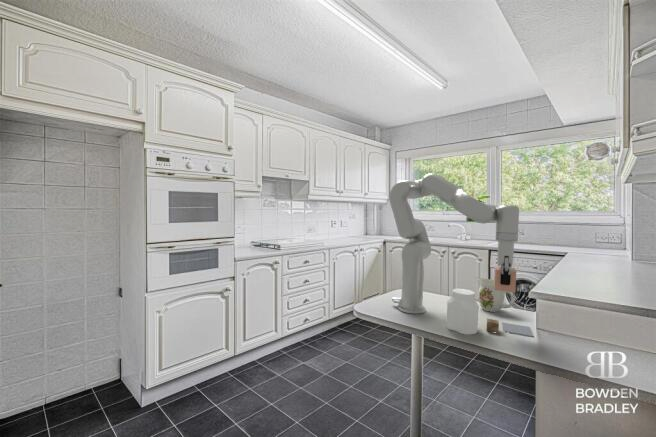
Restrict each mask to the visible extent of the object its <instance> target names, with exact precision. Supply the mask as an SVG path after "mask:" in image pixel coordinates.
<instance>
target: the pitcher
mask: <svg viewBox="0 0 656 437" xmlns="http://www.w3.org/2000/svg"><path fill="white" fill-rule="evenodd" d="M474 280H476V281H477V283H478V284H479V288H478V293H477V297H478V303H479V307H480V308H481V309H482V310H483V309H484V310H483V311H485V310H486V311H485V312H488V311H490V313H498V312H499V311H500V310H501V309H509V308H511V307H512V306H513V305H514V304H515V295H514V292H506V291H498V290H494V279H489V278H482V277H474ZM505 294H509V295H510V302H509V304H506V305H504V301H505Z"/></svg>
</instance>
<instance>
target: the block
mask: <svg viewBox="0 0 656 437" xmlns="http://www.w3.org/2000/svg"><path fill="white" fill-rule="evenodd" d="M499 326H500V322H499V320H498V319H492V318H491V319H490V318H486V327H487V329H486V332H487V331H489V332H488V333H491V332H496V333H495V334H497V333H498V334H499Z"/></svg>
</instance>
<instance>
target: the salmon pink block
mask: <svg viewBox="0 0 656 437" xmlns="http://www.w3.org/2000/svg"><path fill="white" fill-rule="evenodd" d="M503 269H504V268H503ZM503 271H504V270H503ZM501 274H502V267H501V266H500V267H499V266H496V265H495V266H494V274H493V275H494V277H493V280H494V290H498V291H506V292H512V293H513V294H514V293H516V290H517V289H516V286H517V285H516V284H517V270H516V267H511V268H510V275H511V277H510V285H502V284H501V283H500V282H501Z"/></svg>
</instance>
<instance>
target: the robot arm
mask: <svg viewBox="0 0 656 437" xmlns="http://www.w3.org/2000/svg"><path fill="white" fill-rule="evenodd" d="M428 196H433V197H435V198H436V199H438V200H441V201H442V202H443V203H446V204H447V205H448V206H450V207H451V208H453V209H454V210H456V211H457V212H459V213H460V214H462V215H464V216H466V217H467V218H469V219H471V220H472V221H474V222H476V223H478V224H482V225H483V224H490V223H496V224H495V225H496V226H495V241H498V243H497V257H496V259H497V261H496V265H497V267H502V274H501V282H500V283H501V284H502V285H510V277H511V275H510V268H513V262H514V253H515V243H517V242H518V241H519V223H520V221H519V220H520V208H519V206H517V205H513V204H508V205H507V204H502V205H494V204H489V203H488V204H486V203H484V202H481V201H480V200H478V199H476V198H474V197H472V196H471V195H470V194H468V193H467V192H466V191H465V190H464V189H463V188H462V187H461V186H460V185H457V184H455V183H453V182H451V181H449V180H447V179H446V178H445V177H443V176H442V175H440V174H437V173H433V172H432V173H431V172H430V173H427V174H425V175H424V176H423V177H422V178H421V179H417V180H415V181H414V180H409V179H402V180H399V181H397V182H396V183H395V184H393V186H392V187H391V189H390V192H389V203H390V208H391V211H392V215H393V219H394V221H395V225H396V229H397V232H398V234H399V236H400V237H401V238H402V239H403V240H408V241H409V242H407V243H406V244H404V246H403V247H402V250H401V262H402V264H401V265H402V274H401V275H402V277H401V281H402V282H401V297H392V300H391V301H392V302H393V303H394V304H397V309H398V310H399V311H400V312H403V313H406V314H414V315H417V314H418V315H420V314H424V313H426V311H427V308H426V307H425V305H423V299H424V279H425V276H424V275H425V267H424V260H427V258H429V256H430V255H431V253H432V246H431V243H430V239H429V237H428V232H427V230H426V225H424V223H423V221H421V219H418V218H415V217H414V214H413V209H412V208H411V205H410V203H409V201H408V200H409V199H411V200H414V199H420V198H424V197H428ZM503 268H504V269H503ZM503 270H504V271H503Z"/></svg>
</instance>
